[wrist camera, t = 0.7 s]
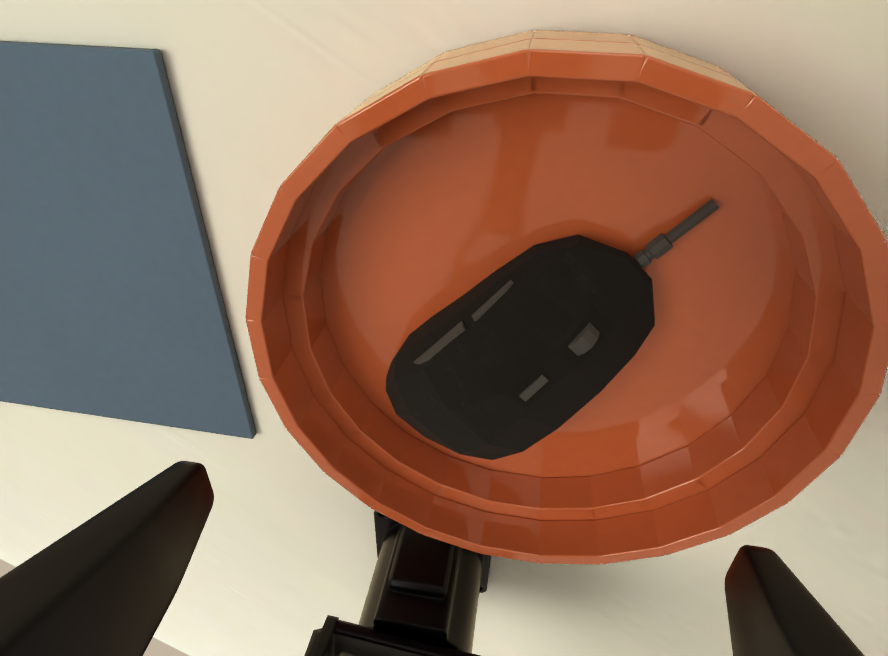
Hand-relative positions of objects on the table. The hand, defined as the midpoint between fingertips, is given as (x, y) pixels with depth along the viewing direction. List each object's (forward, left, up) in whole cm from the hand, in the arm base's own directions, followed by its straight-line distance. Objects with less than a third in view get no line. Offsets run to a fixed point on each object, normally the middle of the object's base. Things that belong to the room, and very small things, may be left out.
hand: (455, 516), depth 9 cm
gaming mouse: (-4, -2, -13) cm, 13 cm away
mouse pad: (-4, +22, -13) cm, 26 cm away
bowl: (-4, -2, -13) cm, 13 cm away
